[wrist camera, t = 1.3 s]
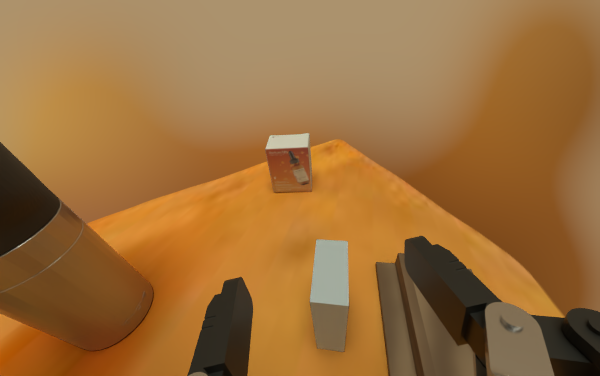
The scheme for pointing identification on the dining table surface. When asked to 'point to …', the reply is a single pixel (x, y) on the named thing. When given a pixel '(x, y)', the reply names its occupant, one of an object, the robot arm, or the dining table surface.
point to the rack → (416, 329)
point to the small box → (290, 162)
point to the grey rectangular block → (330, 294)
